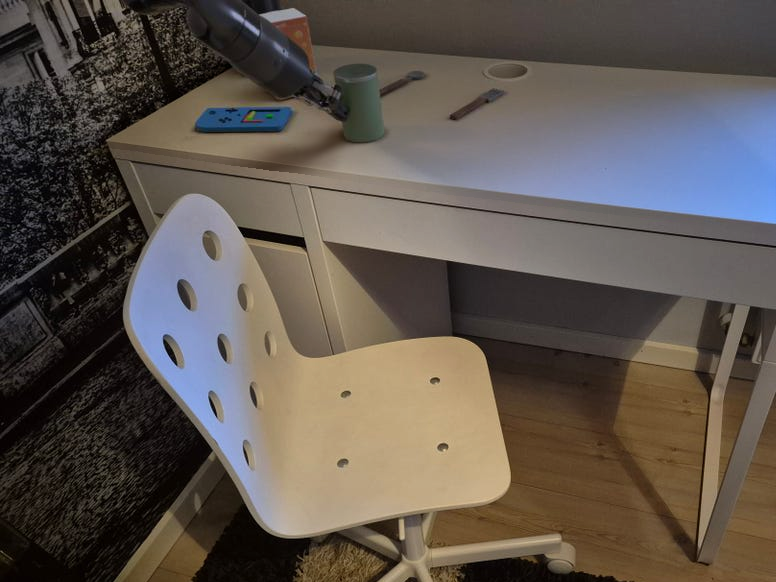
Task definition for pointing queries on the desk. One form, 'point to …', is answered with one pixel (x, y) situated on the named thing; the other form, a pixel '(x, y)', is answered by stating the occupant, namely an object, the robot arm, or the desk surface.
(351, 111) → the can
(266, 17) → the small box
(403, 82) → the spoon
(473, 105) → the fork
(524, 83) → the desk surface
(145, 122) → the desk surface
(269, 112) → the handheld gaming device
